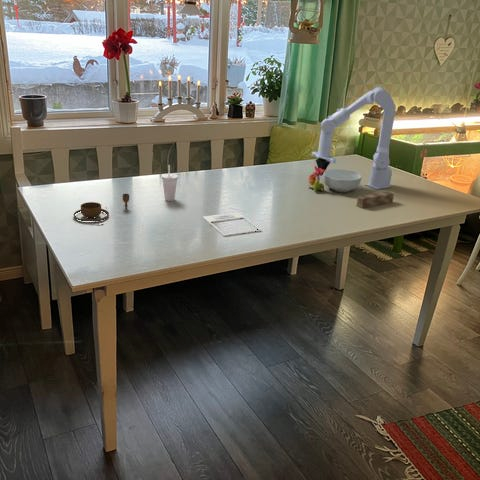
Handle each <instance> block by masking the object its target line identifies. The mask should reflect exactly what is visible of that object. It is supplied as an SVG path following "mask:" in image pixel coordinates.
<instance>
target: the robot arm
mask: <svg viewBox="0 0 480 480" xmlns="http://www.w3.org/2000/svg"><path fill="white" fill-rule="evenodd" d="M374 102H375V103H376V104H377V105H378V106H380V107H381V108H382V110H383V114H382V121H381V125H380V130H379V131H380V132H379V138H378V143H377V146H376V151H375V152H374V154H373V156H372V161H373V164H372V165H371V170H370V175H369V181H368V182H367V183H364V185H365V186H368V187H371V188H373V189H376V190H380V189H387V188H391V187H392V186H391V180H392V175H393V172H392V171H393V170H392V168H391V167H389V165H390V163H391V162H390V161H391V160H390V144H391V138H392V133H393V126H394V121H395V116H396V110H397V109H396V108H397V107H396V104H395V102H394V100H393V98H392V96H391V94H390V93H389V92H388V91H387V90H386V89H384V87H382V86H377V87H374V88H373V89H372V90H369V91H367V92H366V93H365V94H364V95H362V96H361V97H359V98H357V99H356V100H355V101H354V102H352V103H351V104H350V105H349V106H348V107H346V108H345V107H341V108H337V109H336V112H334V113H333V114H331V115H328V116H327V118H324V119H323V120H322V121H321V123H320V128H321V129H320V135H319V141H318V142H319V143H318V149H317V151H311V156H312V157H315V158H316V159H315V163H316V167H317V168H318V169H319V168H321V169H324V170H325V171H327V169H328V167H329V166H330V164H332V165H333V164H336V162H337V159H336V158H334V157H333V156H331V152H332V146H333V138H334V136H333V133H334V131H335V129H336V128H338V127H339V126H341V125H342V124H344V123H345V122H346V121H349V120H350V116H351V115H352V114H353V113H355V112H356V111H358V110H360V109H361V108H362V107H364V106H365V105H374ZM325 171H324V172H325ZM324 172H323V173H324ZM323 173H322V176H323Z"/></svg>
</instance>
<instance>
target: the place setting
mask: <svg viewBox="0 0 480 480" xmlns="http://www.w3.org/2000/svg"><path fill="white" fill-rule="evenodd" d="M122 202H123V203H124V209H125V208H128V202H130V193H123V194H122ZM80 211H81V214H82V216H83V217H85V219H84V218H79V217H78V216H77V217H76V216H75V214H76V213H78V212H80ZM101 211H103V212H105V213H106V214H107V216H104V217H101V218H98V217H99V216H100V215H101ZM106 214H105V215H106ZM109 216H110V212H109V211H108V210H107V209H104V208H102V203H100V202H96V201H95V202H94V201H91V202H89V201H88V202H83V203H82V204H80V209H78V210H76V211H74V212H73V217H75V218H76V219H78V220H81V221H100V220H104V219H106V218H107V219H108V218H109ZM86 217H88V218H94V217H97V218H94V219H88V218H87V219H86ZM75 218H74V219H75ZM76 219H75V220H76ZM107 219H106V220H107ZM104 221H105V220H104Z"/></svg>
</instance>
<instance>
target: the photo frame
mask: <svg viewBox="0 0 480 480" xmlns="http://www.w3.org/2000/svg"><path fill="white" fill-rule="evenodd" d="M202 217H203V218H204V219H205V220H206V221H205V220H204V219H203V218H202V219H203V220H204V221H205V222H206V223H208V224H209V225H210V226H211V225H212V226H213V227H214V228H215V229H214V230H216V231H217V232H218V233H219V234H220V233H221V234H222V235H223V236H222V235H221V234H220V235H221V236H222V237H224V236H225V237H229V236H228V235H232V236H236V235H235V234H239V235H243V234H242V233H246V234H249V233H248V232H253V233H256V232H255V231H260V232H262V231H263V229H261V228H260V227H259V226H257V225H256V224H254V223H253V222H252V221H250V220H249V219H248V218H247V217H245V216H244V215H243V214H241V213H240V212H238V211H237V212H229V213H228V212H227V213H221V214H214V215H204V216H202ZM239 218H244V219H245V220H244V219H243V220H244V221H245V222H247V221H248V222H249V223H248V222H247V223H248V224H249V225H251V224H252V225H253V226H254V228H255V227H256V228H257V229H258V230H257V229H256V228H255V229H253V230H252V229H251V230H246V231H238V232H231V233H226V234H225V233H224V232H223V231H221V230H220V229H219V227H217V226H216V225H215V224H214V223H219V222H218V221H221V222H226V221H225V220H229V221H233V220H232V219H237V220H240V219H239ZM211 222H213V223H211ZM252 225H251V226H252ZM212 226H211V227H212ZM253 226H252V227H253ZM213 227H212V228H213Z"/></svg>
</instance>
